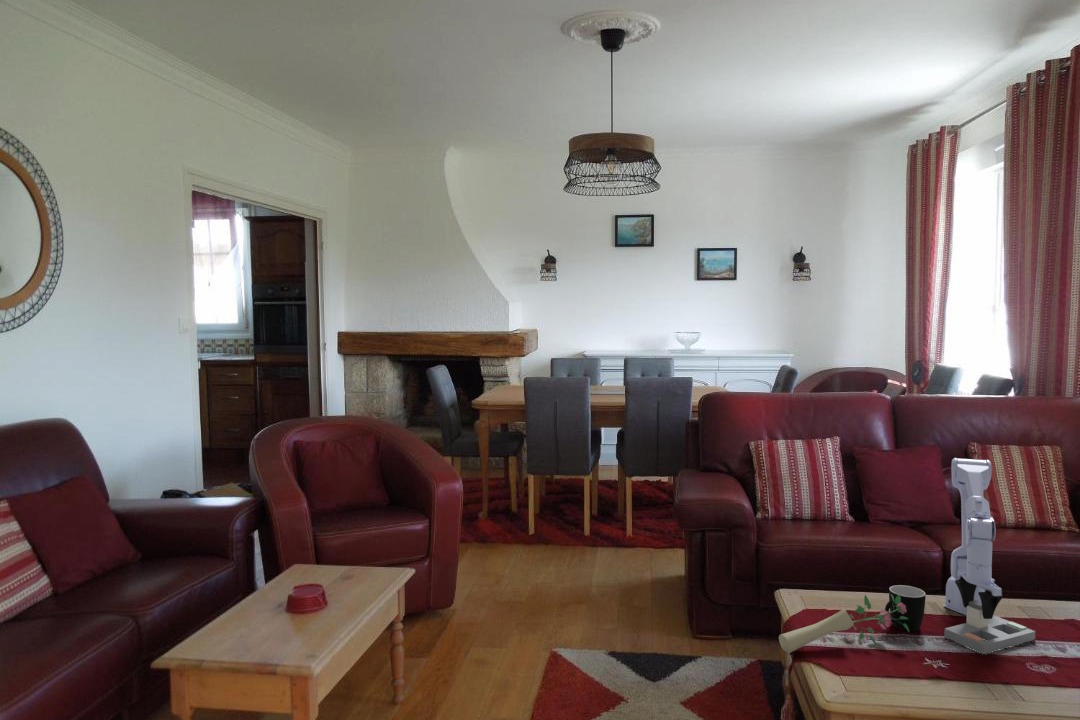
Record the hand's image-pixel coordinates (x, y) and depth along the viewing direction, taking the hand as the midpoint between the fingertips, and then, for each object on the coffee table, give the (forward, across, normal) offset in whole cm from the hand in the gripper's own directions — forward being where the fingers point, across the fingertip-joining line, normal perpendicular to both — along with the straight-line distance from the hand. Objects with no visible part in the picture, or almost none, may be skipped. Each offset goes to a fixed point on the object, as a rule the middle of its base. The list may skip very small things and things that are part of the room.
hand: (977, 612), depth 198 cm
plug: (+3, 0, 0) cm, 3 cm away
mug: (+6, +6, +18) cm, 20 cm away
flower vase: (+6, -2, +39) cm, 40 cm away
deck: (+6, -3, -1) cm, 7 cm away
